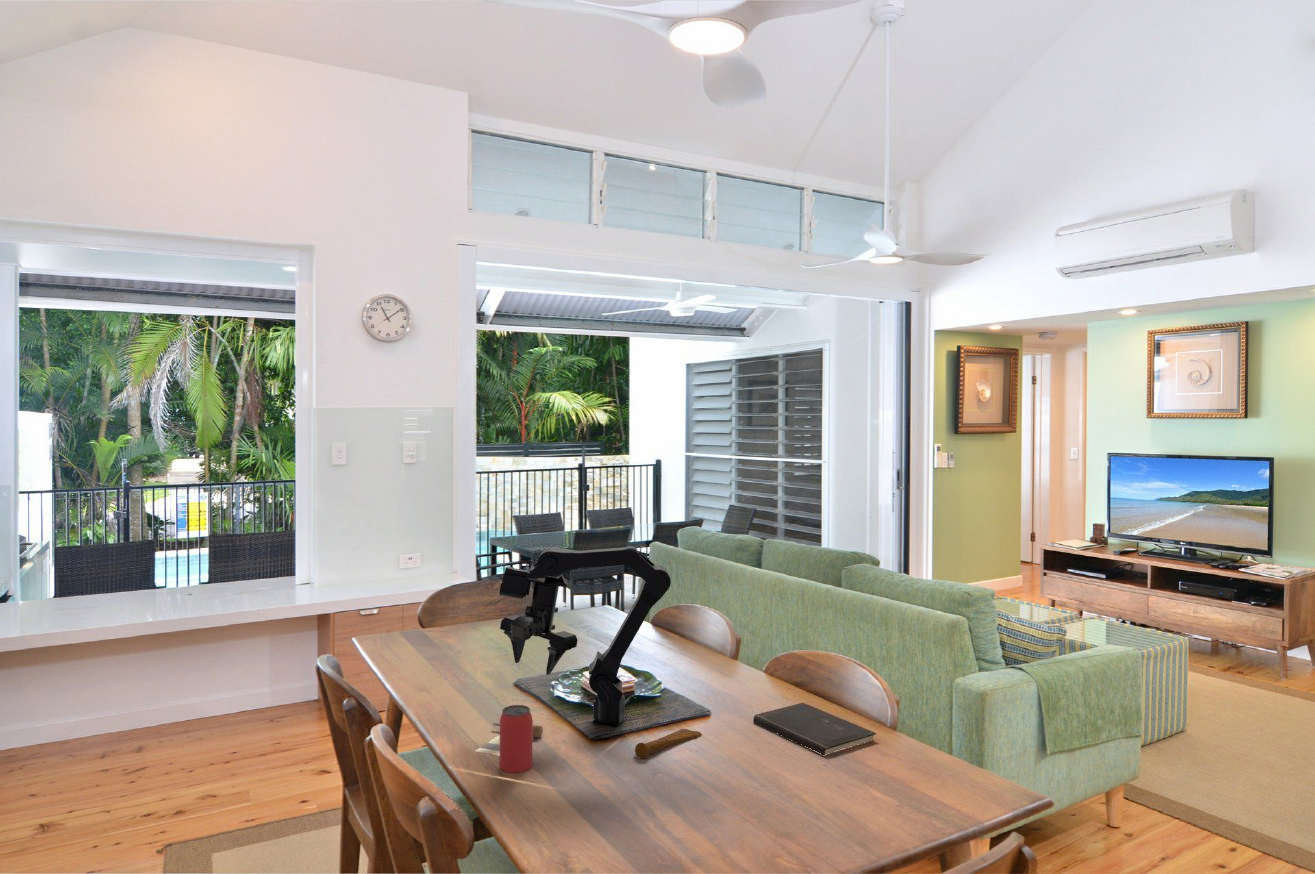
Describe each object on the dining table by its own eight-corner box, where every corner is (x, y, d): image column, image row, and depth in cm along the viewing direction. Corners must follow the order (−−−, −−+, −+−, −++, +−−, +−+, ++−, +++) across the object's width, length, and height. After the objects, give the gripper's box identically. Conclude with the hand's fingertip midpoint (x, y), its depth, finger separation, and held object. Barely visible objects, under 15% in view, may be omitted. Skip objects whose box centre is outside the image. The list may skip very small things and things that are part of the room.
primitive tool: (684, 730, 188) (684, 715, 188) (704, 736, 185) (704, 721, 185) (632, 758, 173) (632, 742, 173) (653, 765, 170) (653, 748, 169)
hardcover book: (803, 711, 201) (803, 702, 201) (875, 743, 182) (876, 732, 182) (753, 724, 192) (753, 715, 192) (824, 759, 173) (824, 748, 173)
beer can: (517, 778, 162) (517, 717, 162) (492, 770, 165) (492, 711, 165) (539, 766, 167) (539, 707, 167) (514, 758, 171) (514, 701, 171)
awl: (542, 735, 183) (542, 724, 183) (537, 739, 180) (537, 728, 180) (496, 727, 187) (496, 716, 187) (490, 731, 185) (490, 720, 185)
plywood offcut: (542, 733, 185) (542, 731, 185) (507, 759, 171) (507, 757, 171) (512, 728, 188) (512, 726, 188) (474, 753, 174) (474, 751, 174)
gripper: (490, 595, 188) (478, 662, 188) (555, 617, 178) (543, 687, 179) (520, 591, 197) (509, 654, 198) (583, 611, 188) (572, 678, 188)
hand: (532, 668), depth 190 cm, fingers open, 9 cm apart
